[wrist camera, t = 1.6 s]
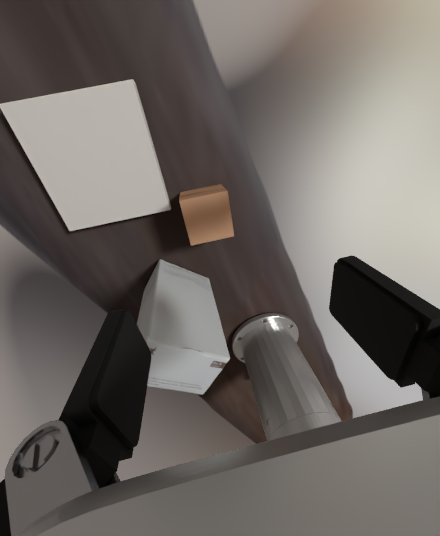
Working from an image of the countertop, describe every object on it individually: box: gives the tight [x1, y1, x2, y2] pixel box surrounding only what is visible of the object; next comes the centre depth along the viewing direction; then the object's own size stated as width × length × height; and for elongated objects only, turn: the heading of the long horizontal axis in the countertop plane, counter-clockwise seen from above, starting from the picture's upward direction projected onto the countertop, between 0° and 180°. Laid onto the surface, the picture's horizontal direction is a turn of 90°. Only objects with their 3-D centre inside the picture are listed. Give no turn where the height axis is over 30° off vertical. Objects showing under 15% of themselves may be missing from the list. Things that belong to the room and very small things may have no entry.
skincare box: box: [137, 259, 230, 395], centre depth 25 cm, size 8×6×15 cm
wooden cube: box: [179, 184, 234, 246], centre depth 25 cm, size 5×5×5 cm
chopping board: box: [0, 79, 171, 231], centre depth 22 cm, size 12×12×1 cm
